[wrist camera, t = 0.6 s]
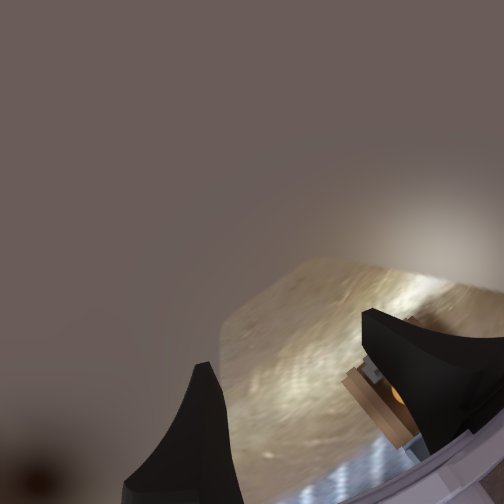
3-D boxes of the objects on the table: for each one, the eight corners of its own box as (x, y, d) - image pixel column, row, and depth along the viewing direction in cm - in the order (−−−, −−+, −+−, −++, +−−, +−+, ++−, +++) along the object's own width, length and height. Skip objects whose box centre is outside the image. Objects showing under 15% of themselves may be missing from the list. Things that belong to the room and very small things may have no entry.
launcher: (468, 379, 20) (476, 374, 18) (397, 447, 21) (396, 451, 18) (411, 321, 27) (412, 310, 25) (344, 383, 27) (338, 379, 25)
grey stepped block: (415, 350, 24) (417, 336, 20) (376, 386, 24) (371, 380, 20) (402, 337, 25) (401, 321, 21) (364, 372, 25) (357, 364, 21)
